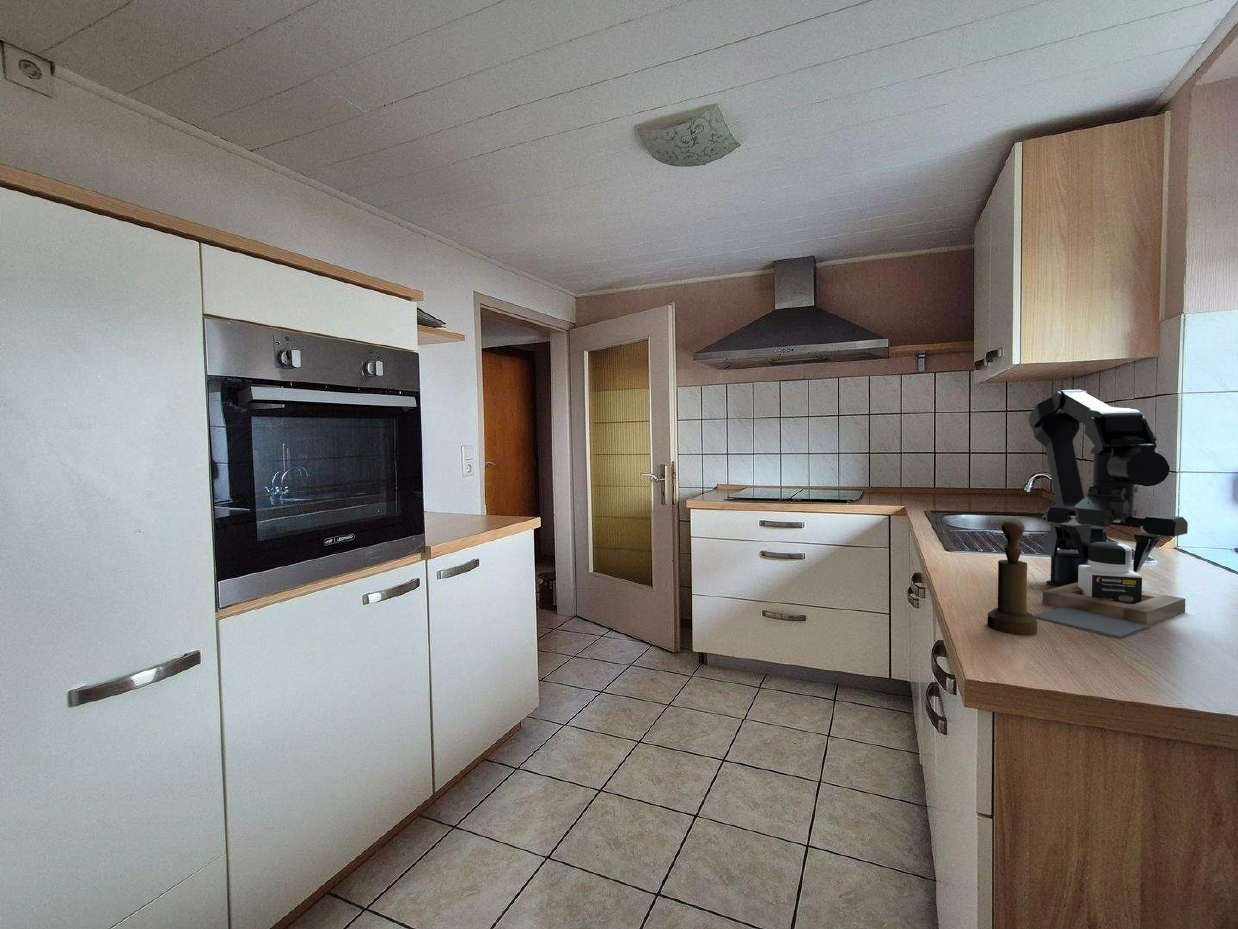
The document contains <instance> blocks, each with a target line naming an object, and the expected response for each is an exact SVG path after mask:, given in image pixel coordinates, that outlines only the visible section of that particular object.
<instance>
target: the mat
mask: <svg viewBox="0 0 1238 929" xmlns="http://www.w3.org/2000/svg"><path fill="white" fill-rule="evenodd" d="M1032 616H1033V617H1035V618H1036V619H1037V620H1042V621H1045V622H1050V623H1053V624H1058V625H1062V626H1065V627H1070V628H1074V629H1078V630H1080V631H1081V630H1083V631H1085V632H1090V633H1094V634H1098V635H1103V636H1107V637H1110V638H1115V639H1118V640H1122V639H1123V638H1126V637H1129V636H1132V635H1135V634H1138V633H1140V632H1143V631H1145V630H1148V629H1150V626H1149V625H1146V624H1142V623H1137V622H1132V621H1128V620H1123V619H1119V618H1114V617H1109V616H1105V615H1100V614H1095V613H1091V612H1086V611H1081V610H1077V609H1072V608H1067V607H1056V608H1053V609H1050V610H1047V611H1044V612H1040V613H1036V614H1034V615H1033V614H1032Z"/></svg>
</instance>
